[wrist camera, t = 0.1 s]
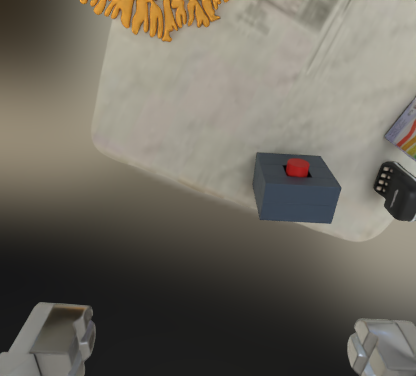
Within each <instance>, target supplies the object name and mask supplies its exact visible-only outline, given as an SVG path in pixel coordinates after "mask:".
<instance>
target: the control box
mask: <svg viewBox="0 0 416 376" xmlns="http://www.w3.org/2000/svg"><path fill="white" fill-rule="evenodd" d="M292 158H298V159H303V160H305V161H307V162H308V163H309V164H310V165H309V170H308V174H307V177H290V176H287V175H286V168H287V163H288V160H289V159H292ZM253 189H254V194H255V199H256V204H257V208H258V213H259V217H260V220H272V221H291V222H310V223H329V224H331V222H332V219H333V215H334V212H335V208H336V205H337V201H338V198H339V195H340V191H341V186H340V185H339V183H338V182H337V180H336V179H335V177H334V176H333V174H332V173H331V171H330V170H329V168H328V167H327V165H326V164H325V162H324V161H323V159H322V158H321V156H308V155H291V154H273V153H257V156H256V164H255V171H254V178H253Z"/></svg>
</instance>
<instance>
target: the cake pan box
mask: <svg viewBox="0 0 416 376" xmlns="http://www.w3.org/2000/svg"><path fill="white" fill-rule="evenodd" d="M385 138H386V139H387V140H388V141H390V142H391V143H393V144H394V145H395V146H397V147H398V148H399V149H401V150H402V151H403V152H404V153H405V154H407V155H408V156H409V157H411V158H412V159H413V160H415V161H416V97H415V99H414V100H413V101H412V103H411V104H410V105H409V106H408V108H407V109H406V110H405V111H404V113H403V114H402V115H401V116H400V118H399V119H398V120H397V121H396V123H395V124H394V125H393V126H392V128H391V129H390V130H389V131H388V133H387V134H386V135H385Z"/></svg>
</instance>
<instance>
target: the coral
mask: <svg viewBox="0 0 416 376" xmlns="http://www.w3.org/2000/svg"><path fill="white" fill-rule="evenodd" d="M87 1H88V0H80V2H81V3H82V4H86V3H87ZM106 1H107V0H100V1H99V3H98V4H97V2H98V0H92V1H91V2H90V5H91V6H92V7H93V6H95V5H96V4H97V5H96V7H95V8H94V12H95V13H96V14H97V15H100V14H101V13H102V12H103V10H104V8H105V5H106ZM108 1H111V0H108ZM155 1H156V0H155ZM227 1H228V0H224V2H227ZM133 2H134V0H112V1H111V3H110V5H109V6H108V7H107V9H106V10H105V13H104V15H105V16H109V15H110V13H111V11H112V9H113V7H114V6H115V7H114V9H113V12H112V15H111V18H112V19H115V18H116V17H117V15H118V13H119V10H120V9H121V10H122V16H121V21H122V24H123V25H124V26H125V27H126V28H129V25H130V18H131V14H132V6H133ZM148 2H150V3H151V7H150V36H151V37H154V36H155V34H156V30H157V18H158V22H159V24H158V33H157V35H158V38H159V39H160V38H161V37H162V34H163V15H162V11H161V9H160V7H159V6H158V5H157V4H156V3H155V2H154V0H136V13H135V15H134V16H133V19H132V32H133V33H134V34H137V33H138V31H139V28H140V26H141V24H142V22H143V21H144V32H147V31H148V28H149V20H148V5H147V3H148ZM212 2H213V6H214V8H215V10H217V9H218V5H217V3H218V4H221V0H212ZM212 2H211V0H202V6H203V9H204V10H205V12H206V14H207V15H208V17H209V19H210V21H211V22H213V21H214V20H217V19H220V17H219V16H215V15H214V13H215V10H214V9H213V8H212ZM163 6H164V17H165V31H164V35H163V38H162V41H168V42H171V41H172V38H171V37H170V36H169V31H173V27H174V29H175V30H176V31H178V27H179V28H182V19H181V16H182V18H183V24H184V25H185V24H186V22H187V15H186V11H185V9H184V1H183V0H172V3H171V6H170V0H163ZM195 6H196V9H195ZM171 7H172V8H173V9H175V8H177V11H176V22H177V25H178V27H177V25H176V22H175V19H174V16H173V13H172V10H171ZM187 8H188V11H189V21H188V26H190V25H191V24H192V22H193V21H194V9H195V15H196V20H197V26H198V28H199V27H200V26H201V24H202V21H203V25H204V26H205V27H208V26H209V24H210V22H209V19H208V17H207V16H206V14H205V13H204V11H203V9H202V7H201V6H200V4H199V2H198V1H197V0H189V3H188V5H187Z"/></svg>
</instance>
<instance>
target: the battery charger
mask: <svg viewBox="0 0 416 376" xmlns="http://www.w3.org/2000/svg"><path fill="white" fill-rule="evenodd" d="M374 190H375V191H376V192H377V193H378V194H380V195H381V196H383V197H384V198H385V199H386V201H385V203H384V207H385V208H386V209H387V211H388V212H389V213H390V214H391V215H392V216H393V217H394V218H395V219H397V220H401V221H409V222H413V221H416V177H414V176H413V175H412V174H411V173H409V172H408V171H407V170H405V169H404V168H403V167H402V166H401V165H400V164H399V163H396V162H387V163H384V164H383V165H382V166H381V168H380V171H379V174H378V176H377V179H376V182H375V185H374Z"/></svg>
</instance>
